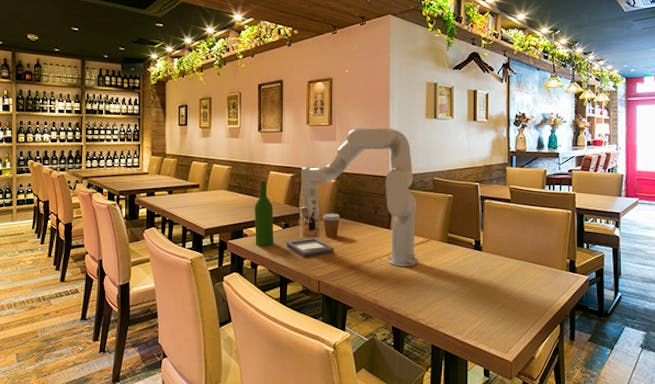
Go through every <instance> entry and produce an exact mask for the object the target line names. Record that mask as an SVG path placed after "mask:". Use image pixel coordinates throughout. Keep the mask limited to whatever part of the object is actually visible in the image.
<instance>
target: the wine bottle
mask: <svg viewBox="0 0 655 384" xmlns="http://www.w3.org/2000/svg"><path fill="white" fill-rule="evenodd" d="M259 185H260V186H259V187H260V188H259V191H260V195H259V198H258V200H257V201H256V204H255V206H254V214H255V215H254V217H255V218H254V219H255V221H254V223H255V224H254V225H255V245H256V246H258V247H259V246H260V247H269V246H272V245H273V244H274V219H273V218H274V217H273V216H274V213H273V212H274V211H273V204H272V203H271V201H270V199H269V198H268V197H267V181H260V182H259Z"/></svg>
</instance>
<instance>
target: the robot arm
mask: <svg viewBox="0 0 655 384" xmlns="http://www.w3.org/2000/svg"><path fill="white" fill-rule="evenodd" d="M386 149H389V150H390V165H391V166H390V167H391V170H390V171H389V172H388V173H387V175H386V178H385V196H386V205H387V206H386V207H387V210H388V213H390V215H392V229H391V230H392V236H391V237H392V238H391V256H390V257H388V261H387V262H388V263H389V264H390V265H393V266H397V267H412V266H413V267H414V266H415V265H417V263H418V262H419V259H418V258H416V254H415V253H414V249H415V229H416V228H415V227H416V225H415V224H416V223H415V221H416V212H417V200H416V198H415V195H414V194H412V193H411V192H410V189H409V187H410V186H412V184H413V179H414V177H413V170H412V160H411V159H412V158H411V148H410V143H409V141H408V139H407V137H406V136H405V134H403V133H402V132H401V131H398V130H397V129H393V128H362V127H361V128H360V127H359V128H358V127H357V128H354V129H351V130H350V131H349V132H348V134H347V136H346V140H345V141H344V142H343V143H342V144H341V145H340V146H339V147H338V148H337V150H336V152H337V154H336V156H335V157H334V159H333V160H332V161H330V163H329V164H327V165H326V166H321V167H315V166H304V167H302V168H301V196H302V197H301V207H305V208H306V209H307V216H309V220H310V223H309V231H313V230H315V222H316V219H317V216H318V215H319V216H320V207H319V199H318V184H325V183H326V184H327V183H328V182H332V181H334V180H336V179H337V178H338V177H339V176H340V175H341V174H342V173H343V172H344V171H345V170H346V169H347V168H348V167H349V165H350V164H351V163H352V162H353V161H354V160H355V159H356V158H357V156H358V155H360V154H362V152H363V151H364V150H386ZM318 207H319V208H318ZM312 215H313V216H312ZM311 217H313V218H312V219H311Z"/></svg>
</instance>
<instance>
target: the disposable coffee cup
mask: <svg viewBox="0 0 655 384" xmlns="http://www.w3.org/2000/svg"><path fill="white" fill-rule="evenodd" d="M322 219H323V225H324V232H325V237H326V238H336V237H338V232H339V231H338V230H339V222H340V214H338V213H326V214H323V216H322Z"/></svg>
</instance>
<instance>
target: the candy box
mask: <svg viewBox="0 0 655 384" xmlns="http://www.w3.org/2000/svg"><path fill="white" fill-rule="evenodd" d="M318 208H319V209H320V206H318ZM299 213H300V214H299V223H300V224H299V225H300V227H299V228H300V229H299V232H300V234H299V235H300V236H299V237H300V238H301V240H306V239H313V238H316V239H319V238H320V214H319V215H318V216H317V219H316V222H315V230H313V231H309V223H310V220H309V216H307V209H306V208H305V207H302V206H300V207H299ZM312 216H313V215H312ZM312 218H313V217H311V219H312Z"/></svg>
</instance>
